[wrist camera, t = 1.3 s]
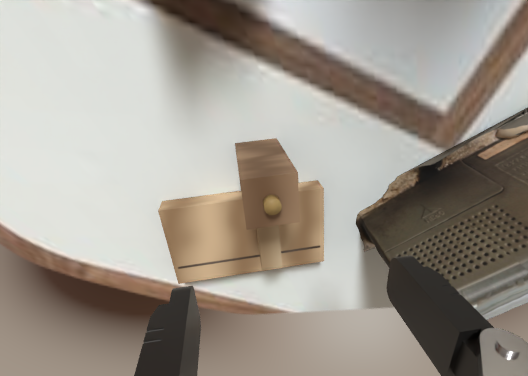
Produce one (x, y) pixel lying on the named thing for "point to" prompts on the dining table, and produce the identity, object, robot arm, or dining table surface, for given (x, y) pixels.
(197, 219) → the board
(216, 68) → the dining table surface
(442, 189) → the radio
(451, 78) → the dining table surface
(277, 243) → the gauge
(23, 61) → the dining table surface
